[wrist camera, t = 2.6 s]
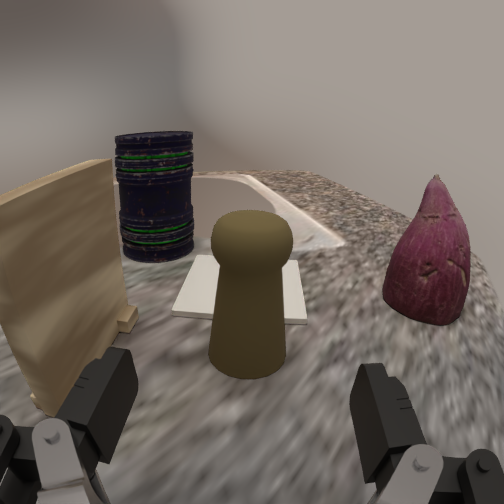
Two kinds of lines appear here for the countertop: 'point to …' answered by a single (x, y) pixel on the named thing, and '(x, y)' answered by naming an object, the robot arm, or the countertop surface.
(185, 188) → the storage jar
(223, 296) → the cork
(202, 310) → the coaster
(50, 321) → the maple board
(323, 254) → the countertop surface
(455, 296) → the vegetable
